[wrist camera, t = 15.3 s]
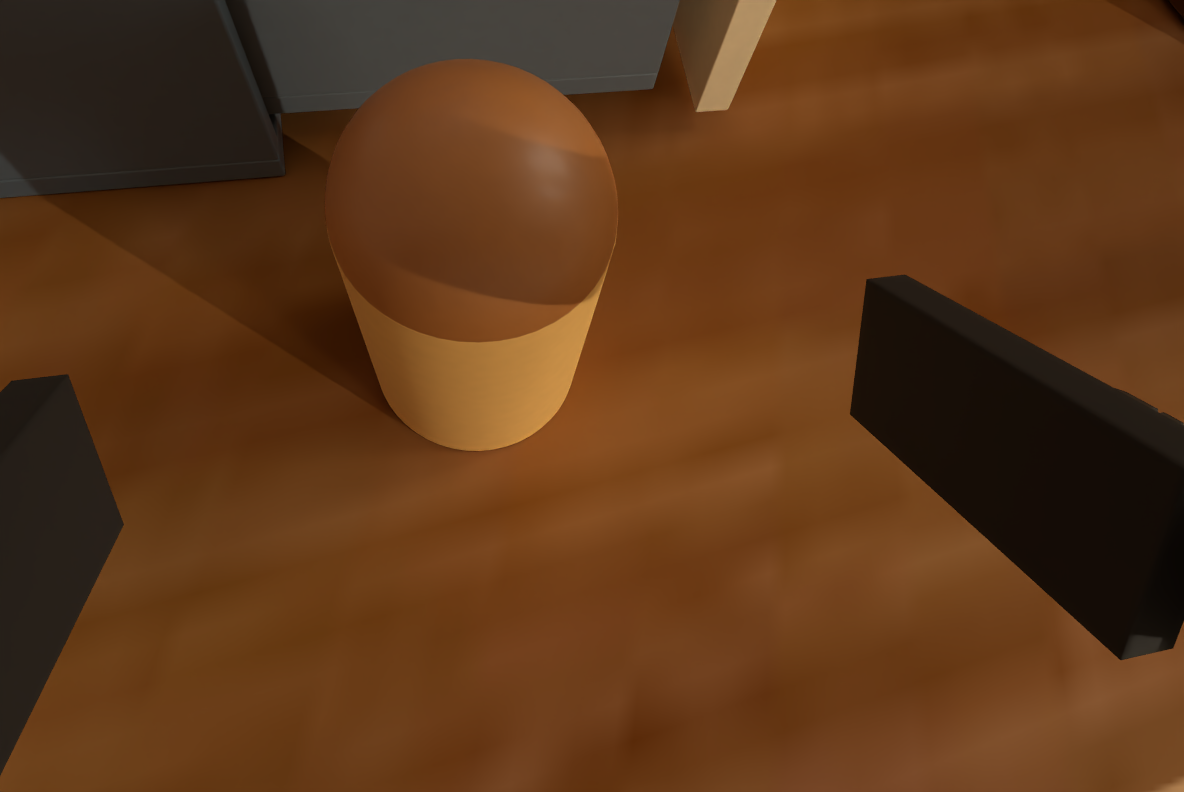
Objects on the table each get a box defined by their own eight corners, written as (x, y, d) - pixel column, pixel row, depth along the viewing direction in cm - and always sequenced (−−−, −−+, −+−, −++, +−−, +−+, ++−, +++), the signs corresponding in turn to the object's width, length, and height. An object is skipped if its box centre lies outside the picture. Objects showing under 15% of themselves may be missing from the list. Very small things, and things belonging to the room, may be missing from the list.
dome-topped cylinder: (613, 370, 25) (710, 153, 14) (460, 492, 23) (445, 345, 13) (490, 234, 26) (497, -62, 15) (334, 341, 24) (222, 88, 14)
